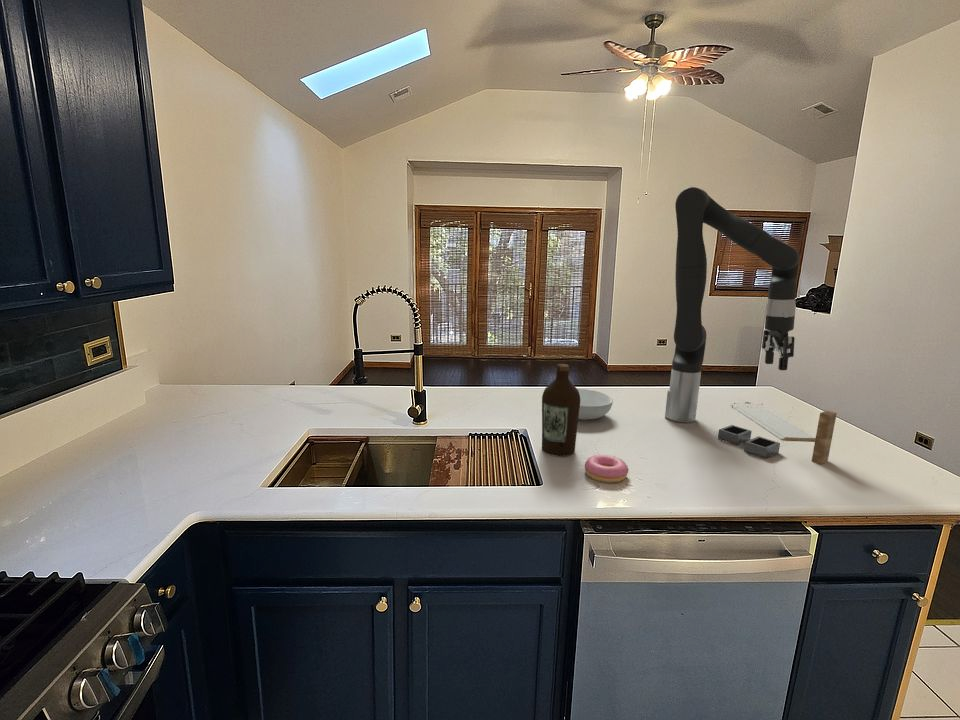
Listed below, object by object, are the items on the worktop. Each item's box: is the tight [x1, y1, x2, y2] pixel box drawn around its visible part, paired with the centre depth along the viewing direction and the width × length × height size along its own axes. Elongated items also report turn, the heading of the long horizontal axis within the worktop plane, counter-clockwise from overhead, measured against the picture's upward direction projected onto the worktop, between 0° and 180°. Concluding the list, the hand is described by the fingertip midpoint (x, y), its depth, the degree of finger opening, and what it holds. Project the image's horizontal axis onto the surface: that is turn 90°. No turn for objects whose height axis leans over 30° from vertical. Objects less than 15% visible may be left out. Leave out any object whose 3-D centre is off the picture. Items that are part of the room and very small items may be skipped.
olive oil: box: [541, 363, 580, 457], centre depth 140 cm, size 11×11×25 cm
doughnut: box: [584, 454, 629, 484], centre depth 127 cm, size 11×11×4 cm
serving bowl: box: [577, 388, 614, 421], centre depth 172 cm, size 21×21×7 cm
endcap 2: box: [743, 435, 781, 460], centre depth 143 cm, size 6×8×3 cm
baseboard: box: [730, 401, 816, 442], centre depth 168 cm, size 31×3×12 cm
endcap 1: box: [717, 424, 752, 446], centre depth 152 cm, size 6×8×3 cm
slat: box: [811, 410, 838, 465], centre depth 137 cm, size 2×4×14 cm, turn 125°
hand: (775, 366), depth 152 cm, fingers open, 8 cm apart
